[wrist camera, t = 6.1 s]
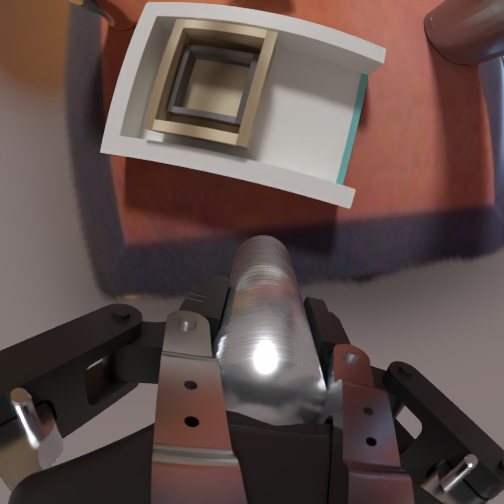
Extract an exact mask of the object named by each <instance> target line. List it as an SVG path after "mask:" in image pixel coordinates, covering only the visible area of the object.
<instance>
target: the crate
mask: <svg viewBox="0 0 504 504" xmlns="http://www.w3.org/2000/svg"><path fill="white" fill-rule="evenodd" d="M277 35H278V32H274V31H269V30H264V29H259V28H254V27H248V26H242V25H235V24H228V23H220V22H211V21H200V20H186V19H177V20H176V22H175V25H174V28H173V30H172V33H171V36H170V38H169V41H168V44H167V47H166V50H165V53H164V56H163V59H162V62H161V65H160V68H159V71H158V74H157V78H156V81H155V84H154V88H153V91H152V95H151V98H150V102H149V106H148V110H147V113H146V117H145V121H144V125H143V128H144V129H147V130H151V131H154V132H158V133H161V134H167V135H173V136H179V137H184V138H190V139H195V140H201V141H206V142H211V143H216V144H221V145H225V146H230V147H235V148H239V149H243V150H248V151H249V149H250V145H251V141H252V137H253V133H254V130H255V126H256V122H257V118H258V114H259V110H260V107H261V103H262V99H263V95H264V92H265V88H266V84H267V80H268V77H269V73H270V70H271V66H272V62H273V59H274V55H275V49H276V42H277Z"/></svg>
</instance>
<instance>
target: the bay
mask: <svg viewBox="0 0 504 504" xmlns="http://www.w3.org/2000/svg"><path fill="white" fill-rule="evenodd" d="M177 19H186V20H200V21H211V22H220V23H228V24H235V25H242V26H248V27H254V28H259V29H264V30H269V31H274V32H278V35H277V42H276V49H275V55H274V59H273V62H272V66H271V70H270V73H269V77H268V80H267V84H266V88H265V92H264V95H263V99H262V103H261V107H260V110H259V114H258V118H257V122H256V126H255V130H254V133H253V137H252V141H251V145H250V149H249V151H248V150H243V149H239V148H235V147H230V146H225V145H221V144H216V143H211V142H206V141H201V140H195V139H190V138H184V137H179V136H173V135H167V134H161V133H158V132H154V131H151V130H147V129H144V128H143V125H144V121H145V117H146V113H147V110H148V106H149V102H150V98H151V95H152V91H153V88H154V84H155V81H156V78H157V74H158V71H159V68H160V65H161V62H162V59H163V56H164V53H165V50H166V47H167V44H168V41H169V38H170V36H171V33H172V30H173V28H174V25H175V22H176V20H177ZM385 54H386V49H385V48H382V47H380V46H378V45H375V44H373V43H371V42H368V41H366V40H363V39H360V38H358V37H355V36H352V35H350V34H347V33H344V32H341V31H338V30H335V29H332V28H329V27H325V26H322V25H319V24H315V23H312V22H308V21H304V20H301V19H297V18H293V17H288V16H284V15H280V14H275V13H270V12H265V11H259V10H253V9H247V8H240V7H233V6H225V5H215V4H203V3H183V2H148V3H146V5H145V7H144V9H143V12H142V14H141V16H140V19H139V21H138V24H137V26H136V29H135V31H134V34H133V36H132V39H131V42H130V44H129V47H128V50H127V53H126V56H125V59H124V62H123V65H122V68H121V71H120V74H119V77H118V81H117V84H116V87H115V91H114V94H113V98H112V102H111V106H110V110H109V114H108V118H107V122H106V126H105V131H104V135H103V140H102V145H101V150H100V153H107V154H114V155H120V156H126V157H132V158H138V159H144V160H150V161H155V162H161V163H166V164H171V165H177V166H182V167H187V168H191V169H196V170H201V171H206V172H210V173H215V174H219V175H224V176H228V177H233V178H237V179H241V180H245V181H250V182H254V183H258V184H262V185H266V186H270V187H274V188H278V189H281V190H285V191H289V192H293V193H296V194H300V195H304V196H307V197H311V198H315V199H318V200H322V201H325V202H328V203H332V204H335V205H339V206H342V207H345V208H349V209H350V208H351V204H352V201H353V197H354V194H355V190H356V189H353V188H350V187H346V186H343V182H344V179H345V175H346V171H347V167H348V163H349V159H350V156H351V152H352V148H353V143H354V139H355V135H356V131H357V127H358V122H359V118H360V114H361V109H362V104H363V100H364V95H365V90H366V85H367V80H368V75H370V74H371V73H372V72H374V71H375V70H376V69H378V68H379V67H380V66H382V65H383V64H384V60H385Z"/></svg>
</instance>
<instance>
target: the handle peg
mask: <svg viewBox="0 0 504 504" xmlns="http://www.w3.org/2000/svg"><path fill="white" fill-rule="evenodd" d="M212 357H216V358H218V360H219V367H220V375H221V382H222V389H223V396H224V403H225V410H228V411H233V412H238V413H241V414H243V415H246V416H249V417H251V418H254V419H257V420H260V421H263V422H266V423H269V424H272V425H276V426H280V425H292V424H302V423H314V421H315V420H316V418H317V416H318V415H319V413H320V411H321V410H322V408H323V406H324V404H325V401H326V397H327V396H328V393H327V389H326V386H325V382H324V378H323V374H322V370H321V366H320V362H319V359H318V355H317V351H316V347H315V344H314V340H313V336H312V333H311V329H310V326H309V322H308V318H307V315H306V311H305V308H304V304H303V301H302V297H301V294H300V290H299V287H298V283H297V280H296V277H295V273H294V270H293V266H292V263H291V260H290V256H289V253H288V251H287V249H286V247H285V246H284V245H283V244H282V243H281V242H280V241H279V240H277V239H276V238H274V237H271V236H266V235H260V236H254V237H252V238H250V239H248V240H246V241H245V242H244V243H243V244H242V245H241V246H240V247H239V249H238V251H237V253H236V257H235V261H234V264H233V268H232V272H231V275H230V283H229V288H228V292H227V296H226V300H225V304H224V308H223V312H222V316H221V320H220V324H219V328H218V332H217V336H216V338H215V340H214V342H213V345H212Z"/></svg>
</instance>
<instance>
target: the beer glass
mask: <svg viewBox="0 0 504 504" xmlns="http://www.w3.org/2000/svg"><path fill="white" fill-rule="evenodd" d="M70 1H71V2H73V3H74V4H76V5H78V6H80V7H82V8H84V9H86V10H89V11H92V12H94V13H97V14H99V15H101V16H103V17H104V18H105V19H106V20H107V22H108V24H109V25H110V27H111V28H113V29H115V30H119V31H122V30H127V29H130V28H132V27H134V26H136V25H137V24H138V21H139V19H140V16H141V14H142V12H143V9H144V7H145V5H146V3H148V1H147V0H70Z"/></svg>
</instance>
